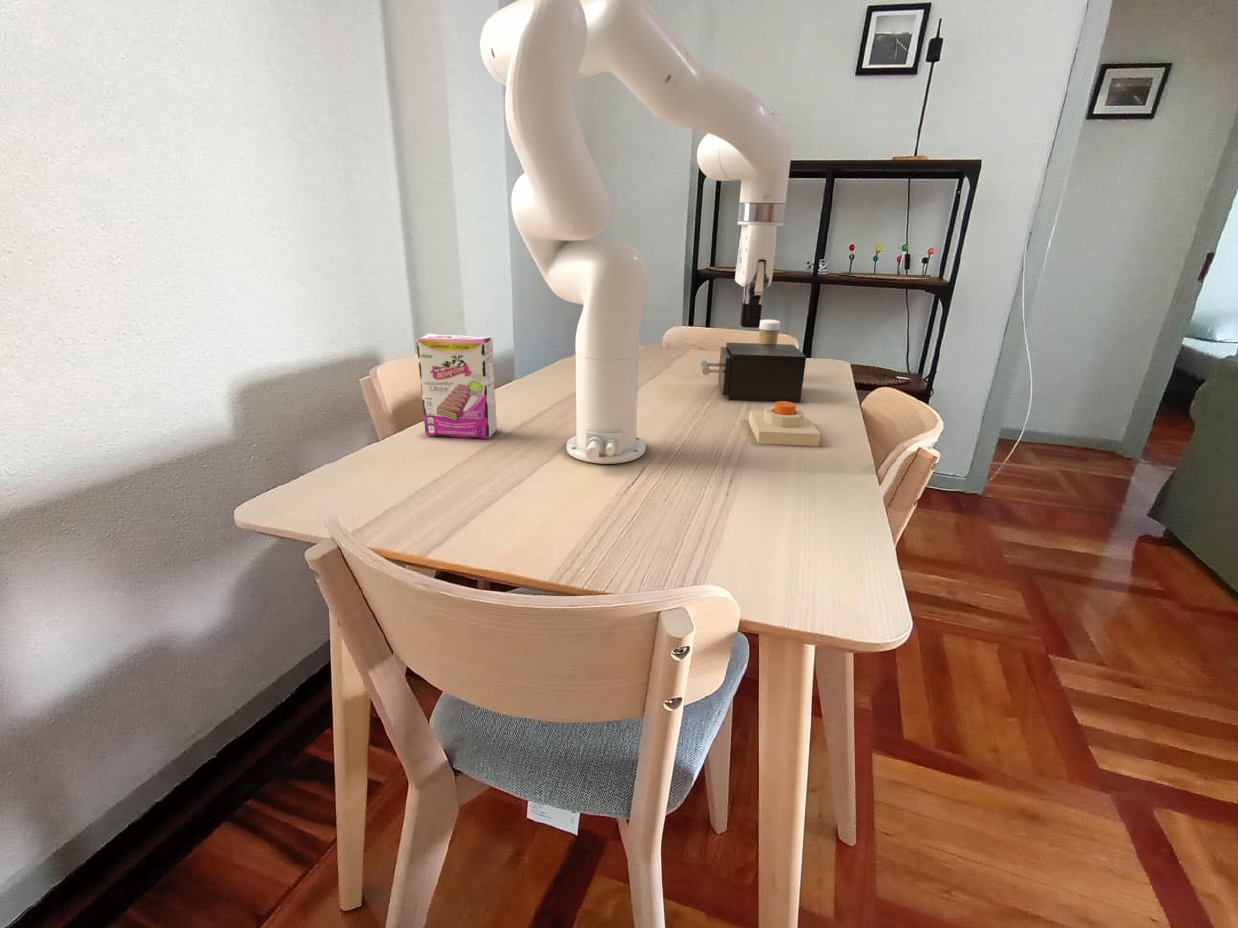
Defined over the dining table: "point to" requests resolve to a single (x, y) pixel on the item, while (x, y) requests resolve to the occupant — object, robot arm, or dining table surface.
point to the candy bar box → (457, 385)
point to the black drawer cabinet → (766, 372)
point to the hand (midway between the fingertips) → (749, 326)
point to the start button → (784, 408)
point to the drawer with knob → (720, 370)
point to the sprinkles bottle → (768, 331)
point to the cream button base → (783, 428)
